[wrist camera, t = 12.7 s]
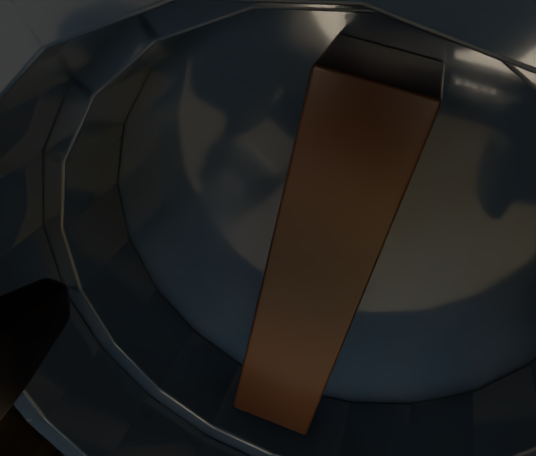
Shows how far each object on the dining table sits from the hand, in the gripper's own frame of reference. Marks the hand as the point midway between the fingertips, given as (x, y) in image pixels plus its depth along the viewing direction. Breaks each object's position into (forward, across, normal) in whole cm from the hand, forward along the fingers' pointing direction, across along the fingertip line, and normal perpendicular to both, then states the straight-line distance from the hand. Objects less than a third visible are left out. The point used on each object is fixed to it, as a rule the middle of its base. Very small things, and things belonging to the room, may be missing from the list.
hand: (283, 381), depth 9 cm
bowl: (+5, 0, 0) cm, 5 cm away
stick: (+5, 0, 0) cm, 5 cm away
